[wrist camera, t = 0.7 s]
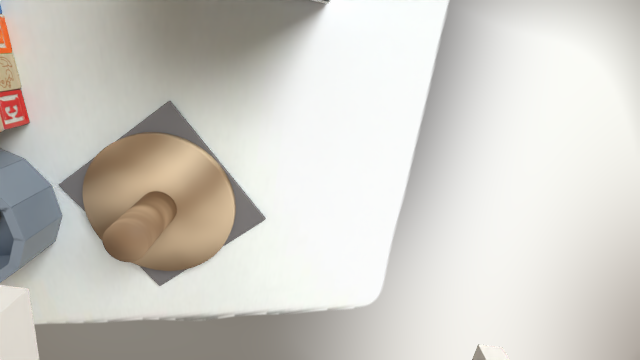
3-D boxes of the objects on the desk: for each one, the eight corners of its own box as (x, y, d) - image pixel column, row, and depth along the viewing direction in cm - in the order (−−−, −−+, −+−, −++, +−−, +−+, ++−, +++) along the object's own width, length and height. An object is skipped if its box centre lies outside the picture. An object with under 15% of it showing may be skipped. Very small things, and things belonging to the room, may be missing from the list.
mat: (61, 183, 36) (58, 184, 35) (170, 100, 33) (168, 101, 33) (161, 283, 40) (159, 286, 40) (265, 217, 37) (264, 219, 37)
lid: (58, 184, 35) (-8, 221, 28) (168, 101, 33) (125, 119, 25) (159, 285, 40) (124, 340, 32) (264, 219, 37) (251, 263, 30)
